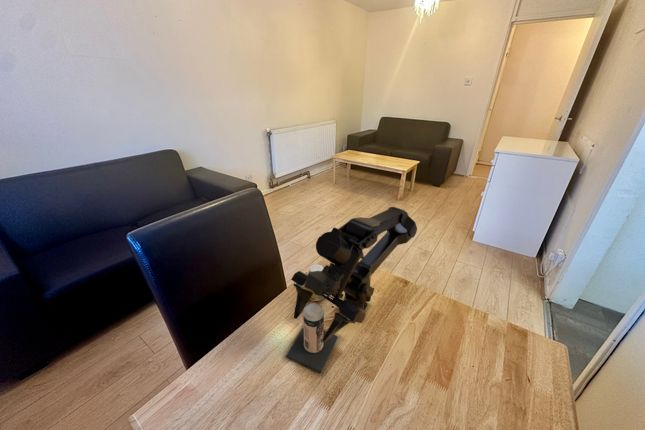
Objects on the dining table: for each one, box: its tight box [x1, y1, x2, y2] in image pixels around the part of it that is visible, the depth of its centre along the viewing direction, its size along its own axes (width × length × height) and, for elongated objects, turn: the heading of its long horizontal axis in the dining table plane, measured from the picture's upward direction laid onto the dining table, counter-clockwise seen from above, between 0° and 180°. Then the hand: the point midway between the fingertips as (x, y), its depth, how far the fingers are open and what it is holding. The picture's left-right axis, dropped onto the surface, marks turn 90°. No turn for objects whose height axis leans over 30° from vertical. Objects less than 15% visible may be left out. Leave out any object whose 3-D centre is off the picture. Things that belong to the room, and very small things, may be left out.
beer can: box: [302, 302, 325, 353], centre depth 61 cm, size 5×5×12 cm
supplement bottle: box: [306, 263, 325, 302], centre depth 77 cm, size 6×6×10 cm
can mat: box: [285, 327, 339, 374], centre depth 63 cm, size 10×9×1 cm
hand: (308, 329), depth 59 cm, fingers open, 9 cm apart
